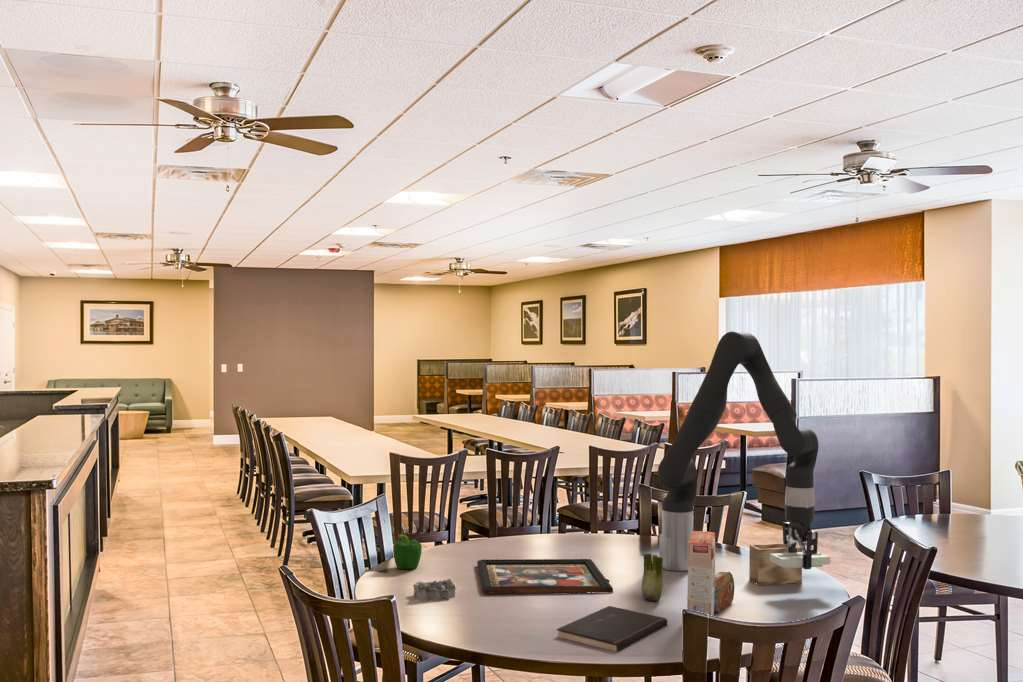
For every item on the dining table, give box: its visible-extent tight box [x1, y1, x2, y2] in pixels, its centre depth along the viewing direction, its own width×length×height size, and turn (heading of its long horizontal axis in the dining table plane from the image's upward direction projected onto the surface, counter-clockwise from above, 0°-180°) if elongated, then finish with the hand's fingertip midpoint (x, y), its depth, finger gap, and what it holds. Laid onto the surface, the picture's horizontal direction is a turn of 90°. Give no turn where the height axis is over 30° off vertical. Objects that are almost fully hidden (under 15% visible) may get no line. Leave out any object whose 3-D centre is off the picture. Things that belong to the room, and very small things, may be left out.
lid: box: [770, 551, 831, 569], centre depth 236 cm, size 14×7×3 cm, turn 103°
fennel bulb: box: [641, 553, 664, 602], centre depth 229 cm, size 6×5×12 cm
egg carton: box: [412, 578, 457, 602], centre depth 232 cm, size 11×8×4 cm
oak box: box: [748, 542, 803, 586], centre depth 248 cm, size 13×6×10 cm, turn 102°
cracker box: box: [686, 530, 716, 616], centre depth 210 cm, size 14×6×21 cm, turn 164°
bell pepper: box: [392, 534, 423, 570], centre depth 260 cm, size 8×8×10 cm
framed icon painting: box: [476, 558, 614, 596], centre depth 250 cm, size 38×35×3 cm
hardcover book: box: [556, 605, 668, 653], centre depth 204 cm, size 16×23×2 cm
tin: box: [714, 571, 735, 613], centre depth 223 cm, size 15×3×8 cm, turn 146°
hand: (799, 565), depth 236 cm, fingers closed on lid, 6 cm apart
